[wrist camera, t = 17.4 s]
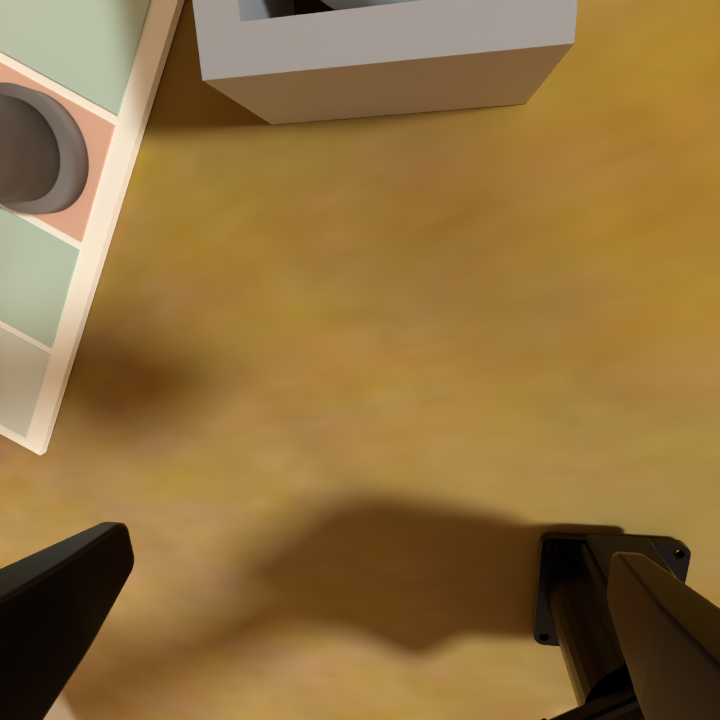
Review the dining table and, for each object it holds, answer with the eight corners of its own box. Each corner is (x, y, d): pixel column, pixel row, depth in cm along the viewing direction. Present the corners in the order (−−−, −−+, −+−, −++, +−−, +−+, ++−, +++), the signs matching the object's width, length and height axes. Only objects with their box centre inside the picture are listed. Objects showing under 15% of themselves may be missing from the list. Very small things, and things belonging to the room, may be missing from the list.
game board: (46, 451, 25) (38, 456, 25) (-82, 383, 25) (-92, 386, 25) (193, -28, 17) (186, -35, 17) (9, -130, 17) (-3, -140, 17)
